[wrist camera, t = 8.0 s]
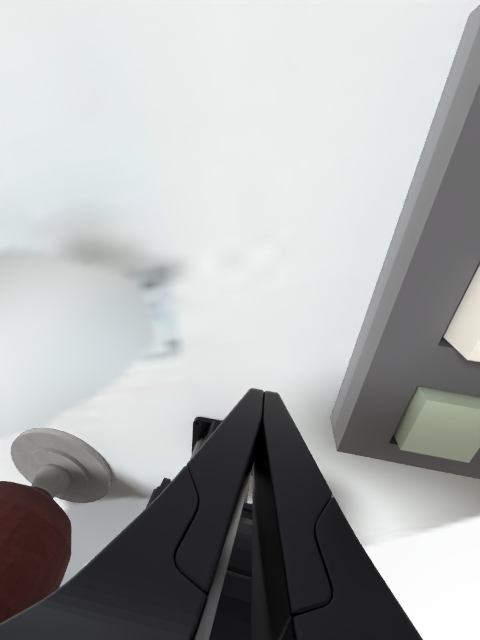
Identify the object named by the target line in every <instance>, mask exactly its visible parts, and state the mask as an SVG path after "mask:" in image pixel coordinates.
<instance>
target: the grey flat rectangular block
mask: <svg viewBox="0 0 480 640" xmlns="http://www.w3.org/2000/svg"><path fill="white" fill-rule="evenodd" d="M479 265H480V5H479V6H478V7H477V8H476V9H475V10H474V11H472V12H471V13H470V15H469V18H468V20H467V23H466V26H465V29H464V32H463V35H462V38H461V41H460V44H459V47H458V49H457V52H456V55H455V58H454V61H453V64H452V67H451V70H450V73H449V76H448V78H447V81H446V84H445V87H444V90H443V93H442V96H441V99H440V102H439V104H438V107H437V110H436V113H435V116H434V119H433V122H432V125H431V128H430V131H429V133H428V136H427V139H426V142H425V145H424V148H423V151H422V154H421V157H420V160H419V162H418V165H417V168H416V171H415V174H414V177H413V180H412V183H411V186H410V189H409V191H408V194H407V197H406V200H405V203H404V206H403V209H402V212H401V215H400V218H399V220H398V223H397V226H396V229H395V232H394V235H393V238H392V241H391V244H390V246H389V249H388V252H387V255H386V258H385V261H384V264H383V267H382V270H381V273H380V275H379V278H378V281H377V284H376V287H375V290H374V293H373V296H372V299H371V302H370V304H369V307H368V310H367V313H366V316H365V319H364V322H363V325H362V328H361V331H360V333H359V336H358V339H357V342H356V345H355V348H354V351H353V354H352V357H351V360H350V362H349V365H348V368H347V371H346V374H345V377H344V380H343V383H342V386H341V388H340V391H339V394H338V397H337V400H336V403H335V406H334V409H333V412H332V415H331V417H330V418H331V423H332V428H333V433H334V438H335V443H336V448H337V451H339V452H344V453H349V454H355V455H360V456H365V457H370V458H375V459H380V460H385V461H390V462H396V463H401V464H406V465H411V466H416V467H421V468H426V469H431V470H437V471H442V472H447V473H452V474H457V475H462V476H467V477H472V478H478V479H480V448H479V449H478V451H477V452H476V454H475V455H474V456H473V458H472V459H471V460H470V462H469V463H467V462H462V461H457V460H451V459H446V458H441V457H436V456H430V455H425V454H420V453H415V452H410V451H404V450H400V448H399V446H398V443H397V441H396V439H395V436H394V432H395V430H396V428H397V426H398V424H399V422H400V420H401V418H402V416H403V414H404V412H405V410H406V408H407V406H408V404H409V402H410V400H411V398H412V396H413V394H414V392H415V390H416V388H417V386H420V387H426V388H432V389H438V390H444V391H449V392H455V393H461V394H467V395H473V396H478V397H480V362H478V361H472V360H467V359H466V358H465V357H464V356H463V355H462V354H461V353H460V352H459V351H457V350H456V349H455V348H454V347H453V346H452V345H451V344H450V343H449V342H448V341H447V340H446V339H445V338H444V335H445V333H446V331H447V329H448V327H449V325H450V323H451V321H452V319H453V317H454V315H455V313H456V311H457V309H458V307H459V305H460V303H461V301H462V299H463V297H464V295H465V293H466V291H467V289H468V287H469V285H470V283H471V281H472V279H473V277H474V275H475V273H476V271H477V269H478V267H479Z"/></svg>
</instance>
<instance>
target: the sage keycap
mask: <svg viewBox="0 0 480 640" xmlns="http://www.w3.org/2000/svg"><path fill="white" fill-rule="evenodd" d="M394 436H395V439H396V441H397V443H398V446H399V448H400V450H404V451H410V452H415V453H420V454H425V455H430V456H436V457H441V458H446V459H451V460H457V461H462V462H467V463H469V462H470V460H471V459H472V458H473V456H474V455H475V454H476V452H477V451H478V449H479V448H480V397H478V396H473V395H467V394H461V393H455V392H449V391H444V390H438V389H432V388H426V387H420V386H417V388H416V390H415V392H414V394H413V396H412V398H411V400H410V402H409V404H408V406H407V408H406V410H405V412H404V414H403V416H402V418H401V420H400V422H399V424H398V426H397V428H396V430H395V432H394Z"/></svg>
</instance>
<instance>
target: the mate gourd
mask: <svg viewBox="0 0 480 640" xmlns="http://www.w3.org/2000/svg"><path fill="white" fill-rule="evenodd" d="M11 456H12V460H13V462H14V464H15V466H16V468H17V469H18V470H19V471H20V473H21V474H22V475H23V476H24V477H25V478H26V479H27V480H28V481H29V482H31V483H32V486H26V485H22V484H18V483H14V482H7V481H0V623H2V622H4V621H6V620H7V619H9V618H11V617H13V616H15V615H16V614H18V613H20V612H22V611H24V610H25V609H27V608H29V607H31V606H33V605H34V604H36V603H38V602H39V601H41V600H43V599H44V598H46V597H47V596H49V595H50V594H52V593H53V592H55V591H56V590H57V589H59V587H60V584H61V582H62V580H63V577H64V574H65V572H66V569H67V566H68V563H69V560H70V556H71V522H70V520H69V518H68V516H67V515H66V513H65V512H64V511H63V509H62V508H61V507H60V506H59V505H58V504H57V503H56V502H55V501H54V500H53V498H54V497H57V498H60V499H63V500H67V501H71V502H78V503H87V502H93V501H96V500H99V499H100V498H102V497H103V496H104V495H105V494H106V493H107V491H108V489H109V488H110V485H111V482H112V476H111V472H110V469H109V467H108V465H107V463H106V461H105V460H104V459H103V458H102V457H101V455H100V454H99V453H98V452H97V451H96V450H95V449H93V448H92V447H91V446H90V445H88V444H87V443H85V442H84V441H82V440H80V439H79V438H77V437H75V436H73V435H70V434H68V433H65V432H63V431H59V430H55V429H49V428H34V429H30V430H27V431H25V432H23V433H22V434H20V435H19V436H18V437H17V438H16V439H15V441H14V442H13V443H12V446H11Z"/></svg>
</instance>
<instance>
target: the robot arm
mask: <svg viewBox="0 0 480 640" xmlns="http://www.w3.org/2000/svg"><path fill="white" fill-rule="evenodd" d="M198 422H199V423H198ZM252 475H253V504H249V503H247V499H248V490H249V482H250V476H252ZM332 496H333V494H332V492H331V490H330V488H329V486H328V485H327V483H326V481H325V479H324V477H323V475H322V473H321V472H320V470H319V468H318V466H317V464H316V462H315V460H314V459H313V457H312V455H311V453H310V451H309V449H308V447H307V446H306V444H305V442H304V440H303V438H302V436H301V434H300V432H299V431H298V429H297V427H296V425H295V423H294V421H293V419H292V418H291V416H290V414H289V412H288V410H287V408H286V406H285V405H284V403H283V401H282V399H281V397H280V395H279V394H278V393H276V392H271V391H265V392H264V391H263V390H260V389H254V388H251V389H249V391H248V392H247V393H246V394H245V395H244V396H243V398H242V399H241V400H240V401H239V402H238V404H237V405H236V406H235V407H234V408H233V410H232V411H231V412H230V413H229V414H228V415H227V417H226V418H225V419H224V420H223V421H217V420H212V419H207V418H201V417H196V418H195V420H194V422H193V440H192V456H191V459H190V461H189V462H188V463H187V466H185V467H184V468H183V469H182V470H181V471H180V472H179V474H178V475H177V476H176V477H175V478H174V479H173V481H171V480H170V479H167V478H164V479H163V481H162V483H161V485H160V487H159V486H158V487H157V489H154V491H153V493H152V495H151V498H150V500H149V502H148V504H147V507H146V509H145V510H144V511H143V512H142V513H141V514H140V515H139V516H138V517H137V518H136V519H135V520H134V521H133V522H131V523H130V524H129V525H128V526H127V527H126V528H125V529H124V530H123V531H122V532H121V533H120V534H119V535H118V536H117V537H116V538H115V539H114V540H113V541H111V542H110V543H109V544H108V545H107V546H106V547H105V548H104V549H103V550H102V551H101V552H100V553H99V554H98V555H97V556H95V557H94V559H92V560H91V561H90V562H89V563H88V564H87V565H86V566H85V567H84V568H83V569H82V570H80V571H79V572H78V573H77V574H76V575H75V576H74V577H73V578H71V579H70V580H69V581H68V582H66V583H65V584H64V585H63V586H61V587H60V588H59V589H57V590H56V591H55V592H53V593H52V594H50V595H49V596H47V597H46V598H44V599H43V600H41V601H39V602H38V603H36V604H34V605H33V606H31V607H29V608H27V609H25V610H24V611H22V612H20V613H18V614H16V615H15V616H13V617H11V618H9V619H7V620H6V621H4V622H2V623H0V640H423V639H422V638H421V636H420V634H419V633H418V631H417V630H416V629H415V627H414V625H413V624H412V622H411V621H410V619H409V618H408V616H407V615H406V613H405V612H404V610H403V609H402V607H401V606H400V604H399V603H398V601H397V599H396V598H395V596H394V595H393V593H392V592H391V590H390V589H389V587H388V586H387V584H386V583H385V581H384V580H383V578H382V577H381V575H380V573H379V572H378V570H377V569H376V567H375V566H374V564H373V563H372V561H371V559H370V558H369V556H368V555H367V553H366V552H365V550H364V548H363V547H362V545H361V544H360V542H359V540H358V539H357V537H356V535H355V534H354V532H353V530H352V528H351V527H350V525H349V523H348V521H347V520H346V518H345V516H344V514H343V512H342V511H341V509H340V507H339V505H338V503H337V501H336V499H335V498H334V497H332Z"/></svg>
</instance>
